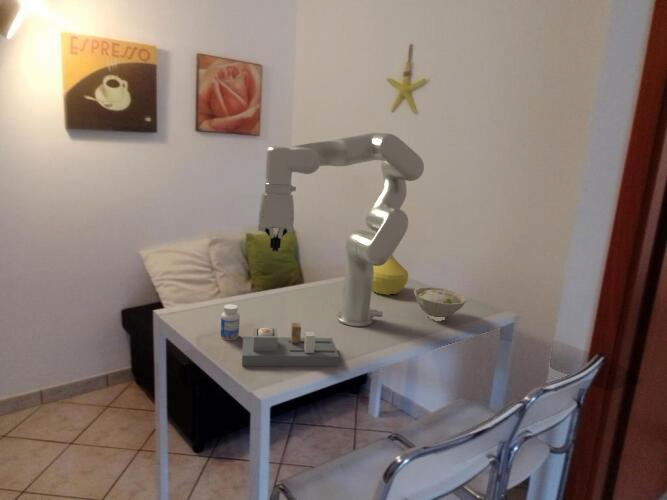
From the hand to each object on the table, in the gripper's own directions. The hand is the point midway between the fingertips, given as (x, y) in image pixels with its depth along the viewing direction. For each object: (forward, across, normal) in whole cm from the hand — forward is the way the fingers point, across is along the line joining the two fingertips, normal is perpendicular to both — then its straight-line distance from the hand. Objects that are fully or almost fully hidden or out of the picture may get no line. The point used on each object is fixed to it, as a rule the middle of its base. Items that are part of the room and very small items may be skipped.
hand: (275, 250), depth 143 cm
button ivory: (+23, +3, +17) cm, 29 cm away
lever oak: (+23, -6, +15) cm, 28 cm away
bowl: (+28, -62, -14) cm, 69 cm away
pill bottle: (+26, +13, +5) cm, 30 cm away
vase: (+28, -50, -43) cm, 72 cm away
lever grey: (+23, -9, +21) cm, 32 cm away
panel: (+26, -4, +18) cm, 32 cm away
